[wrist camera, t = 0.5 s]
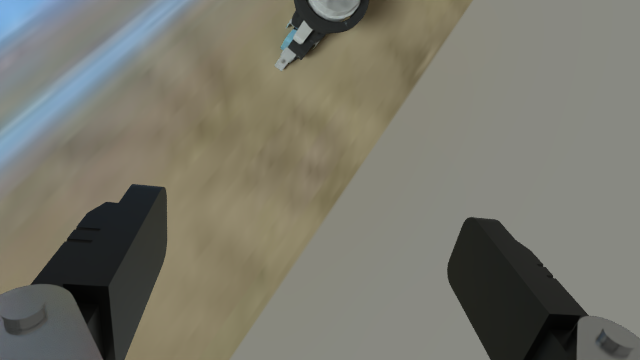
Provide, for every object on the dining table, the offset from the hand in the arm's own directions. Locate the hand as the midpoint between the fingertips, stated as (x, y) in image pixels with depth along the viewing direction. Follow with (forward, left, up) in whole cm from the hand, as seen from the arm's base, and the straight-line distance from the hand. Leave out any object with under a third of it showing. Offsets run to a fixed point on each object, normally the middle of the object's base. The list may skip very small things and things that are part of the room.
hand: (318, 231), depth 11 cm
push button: (-5, +13, -25) cm, 29 cm away
